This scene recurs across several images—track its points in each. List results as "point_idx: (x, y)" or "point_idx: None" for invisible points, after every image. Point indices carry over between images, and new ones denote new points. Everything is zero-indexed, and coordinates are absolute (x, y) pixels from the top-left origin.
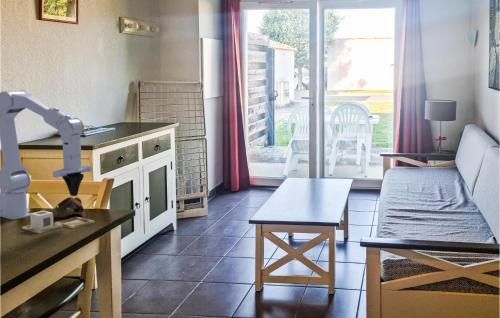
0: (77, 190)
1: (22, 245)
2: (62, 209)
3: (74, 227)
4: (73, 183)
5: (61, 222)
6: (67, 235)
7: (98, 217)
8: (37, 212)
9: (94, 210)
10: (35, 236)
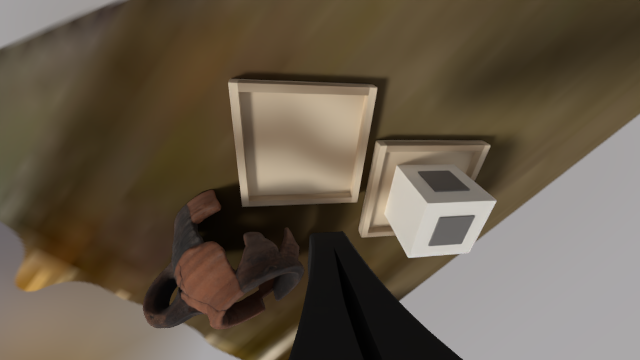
0: (323, 263)
1: (632, 69)
2: (294, 256)
3: (365, 85)
4: (425, 335)
5: (329, 194)
6: (469, 18)
7: (138, 156)
8: (445, 248)
9: (89, 255)
10: (509, 129)
